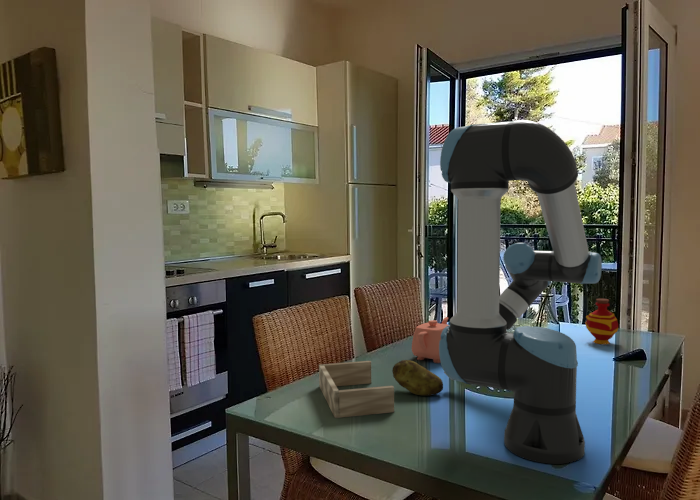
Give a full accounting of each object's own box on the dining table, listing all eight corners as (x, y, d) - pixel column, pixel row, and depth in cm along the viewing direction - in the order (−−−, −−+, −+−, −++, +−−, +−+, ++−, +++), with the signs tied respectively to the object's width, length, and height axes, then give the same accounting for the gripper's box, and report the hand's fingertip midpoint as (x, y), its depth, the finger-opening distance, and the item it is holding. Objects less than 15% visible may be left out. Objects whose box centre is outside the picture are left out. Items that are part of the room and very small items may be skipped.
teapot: (437, 368, 160) (437, 328, 159) (402, 362, 167) (401, 324, 166) (464, 352, 177) (464, 316, 176) (431, 347, 184) (430, 312, 182)
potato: (427, 403, 133) (427, 371, 132) (387, 391, 142) (387, 361, 141) (446, 394, 139) (446, 363, 138) (407, 383, 148) (407, 354, 147)
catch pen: (394, 412, 127) (394, 387, 127) (334, 418, 124) (334, 392, 124) (370, 381, 149) (370, 360, 149) (319, 386, 146) (318, 364, 146)
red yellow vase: (619, 340, 189) (620, 298, 187) (616, 347, 180) (617, 303, 179) (587, 337, 194) (588, 296, 193) (582, 343, 186) (583, 300, 184)
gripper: (528, 324, 139) (468, 393, 136) (503, 314, 151) (447, 377, 149) (509, 305, 137) (448, 374, 135) (486, 296, 150) (429, 360, 148)
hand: (448, 376), depth 142 cm, fingers closed
